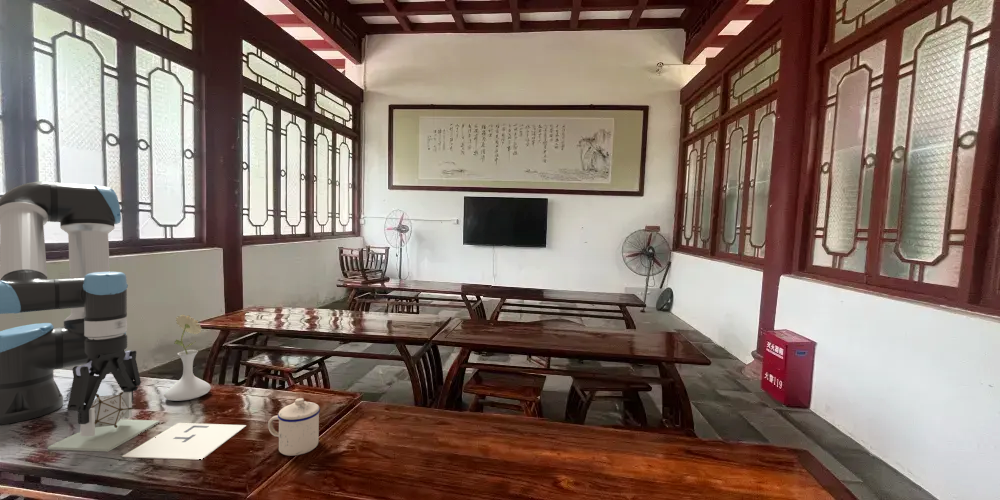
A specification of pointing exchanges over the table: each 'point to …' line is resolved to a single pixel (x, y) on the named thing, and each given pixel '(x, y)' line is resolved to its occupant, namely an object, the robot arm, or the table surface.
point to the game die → (109, 409)
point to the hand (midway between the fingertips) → (107, 425)
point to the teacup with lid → (297, 427)
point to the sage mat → (105, 436)
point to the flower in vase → (187, 367)
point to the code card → (186, 441)
